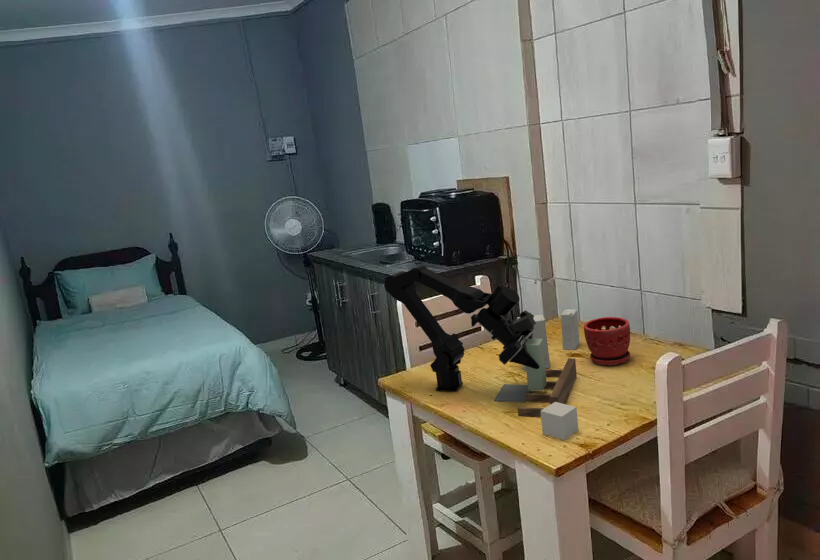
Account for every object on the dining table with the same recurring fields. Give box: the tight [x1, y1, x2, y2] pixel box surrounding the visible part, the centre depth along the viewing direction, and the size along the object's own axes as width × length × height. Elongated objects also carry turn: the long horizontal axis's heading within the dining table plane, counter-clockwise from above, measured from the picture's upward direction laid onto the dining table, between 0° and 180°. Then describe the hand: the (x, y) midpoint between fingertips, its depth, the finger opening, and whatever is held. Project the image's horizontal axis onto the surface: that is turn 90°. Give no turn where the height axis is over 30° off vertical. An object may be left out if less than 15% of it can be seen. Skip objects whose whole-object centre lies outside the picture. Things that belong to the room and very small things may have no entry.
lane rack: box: [517, 357, 578, 418], centre depth 168 cm, size 10×27×6 cm, turn 156°
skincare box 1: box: [516, 314, 551, 372], centre depth 189 cm, size 8×7×16 cm
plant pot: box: [583, 316, 631, 366], centre depth 186 cm, size 13×13×12 cm
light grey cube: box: [540, 402, 579, 441], centre depth 147 cm, size 6×6×6 cm
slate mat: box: [493, 383, 533, 403], centre depth 173 cm, size 9×11×1 cm
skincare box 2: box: [560, 308, 581, 351], centre depth 202 cm, size 6×4×12 cm
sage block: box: [525, 339, 547, 392], centre depth 168 cm, size 4×5×13 cm
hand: (540, 364), depth 168 cm, fingers closed on sage block, 5 cm apart
